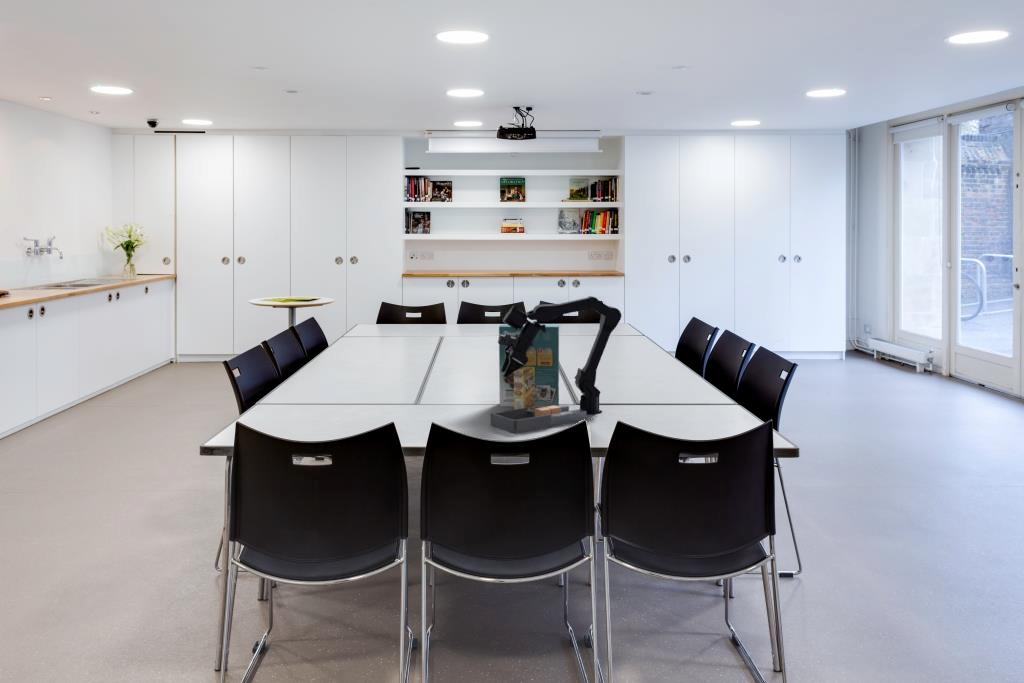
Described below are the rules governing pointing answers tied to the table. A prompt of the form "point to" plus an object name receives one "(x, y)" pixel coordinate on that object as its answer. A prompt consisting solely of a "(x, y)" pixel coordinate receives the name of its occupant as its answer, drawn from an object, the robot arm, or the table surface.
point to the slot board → (564, 416)
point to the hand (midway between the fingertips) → (503, 373)
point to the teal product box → (544, 363)
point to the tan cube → (542, 411)
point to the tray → (519, 421)
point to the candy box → (524, 388)
